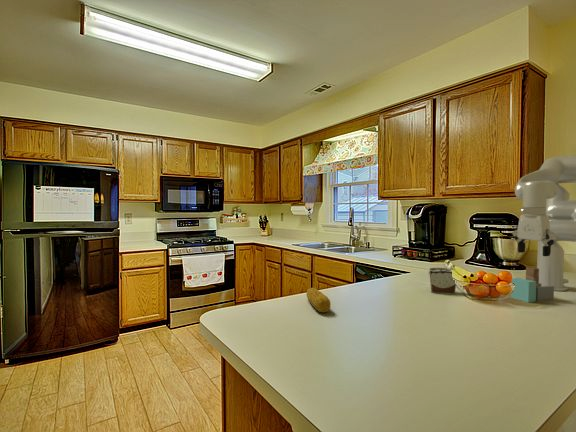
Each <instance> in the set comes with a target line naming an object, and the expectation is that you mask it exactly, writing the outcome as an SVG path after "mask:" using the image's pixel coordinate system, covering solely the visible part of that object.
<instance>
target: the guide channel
mask: <svg viewBox="0 0 576 432" xmlns="http://www.w3.org/2000/svg"><path fill="white" fill-rule="evenodd" d="M554 294H555V290H554V286H542V287H541V283H539V287H536V301H537V302H538V301H548V300H549V301H550V300H555V299H554V298H555V295H554Z"/></svg>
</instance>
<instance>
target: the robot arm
mask: <svg viewBox="0 0 576 432" xmlns="http://www.w3.org/2000/svg"><path fill="white" fill-rule="evenodd" d="M575 183H576V154H573V155H563V156H562V155H561V156H560V155H559V156H553V157H549V158H547V159H546V160H544V162H543V163H542V165H540V168H539V169H538V170H535V171H533V172H529V173H528V174H525V175H523V176H522V177H520V178H519V180H518V181H517V182H516V184H515V187H514V195H515V196H516V198H517V199H518V200H519V199H520V200H522V208H521V209H520V212H521V213H522V214H521V215H520V216H519V219H518V226H517V229H515V230H513V231H512V232H511V235H512V236H513V239H514V240H515V242H516V243H517V252H518V253H525V252H526V243H525V241H526V240H527V241H534V242H535V241H536V242H537V257H536V259H537V260H536V261H537V262H536V263H537V264H536V268H538V269H539V283H541V287H542V286H554V292H555V291H557V292H565V291H567V290H568V286H566V285H564V284H569V282H570V281H569V279H567V278H564V272H565V271H564V268H565V267H564V266H565V265H564V264H565V262H564V261H565V250H564V248H563V247H562V245H560V243H559V242H572V243H573V242H575V243H576V200H572V199H571V200H570V196H571V195H570V192H569V191H568V190H567V188H566V187H563V186H562V185H560V184H575Z"/></svg>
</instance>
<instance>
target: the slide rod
mask: <svg viewBox="0 0 576 432" xmlns="http://www.w3.org/2000/svg"><path fill="white" fill-rule="evenodd" d="M525 279H527V280H531V281H536V287H539V269H538V268H537V267H532V266H530V267H525Z"/></svg>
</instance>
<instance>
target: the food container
mask: <svg viewBox="0 0 576 432" xmlns="http://www.w3.org/2000/svg"><path fill="white" fill-rule="evenodd" d="M428 269H429V270H428V271H427V272H428V273H427V274H428V275H429V280H430V281H429V282H430V290H431V291H430V292H431V294H444V295H445V294H448V295H450V294H451V295H452V294H453V295H455V293H456V288H457V287H456V286H457V283H456V284H455V280H453V278H452V271H451V269H452V268H449V267H448V268H447V267H429V268H428Z"/></svg>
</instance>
